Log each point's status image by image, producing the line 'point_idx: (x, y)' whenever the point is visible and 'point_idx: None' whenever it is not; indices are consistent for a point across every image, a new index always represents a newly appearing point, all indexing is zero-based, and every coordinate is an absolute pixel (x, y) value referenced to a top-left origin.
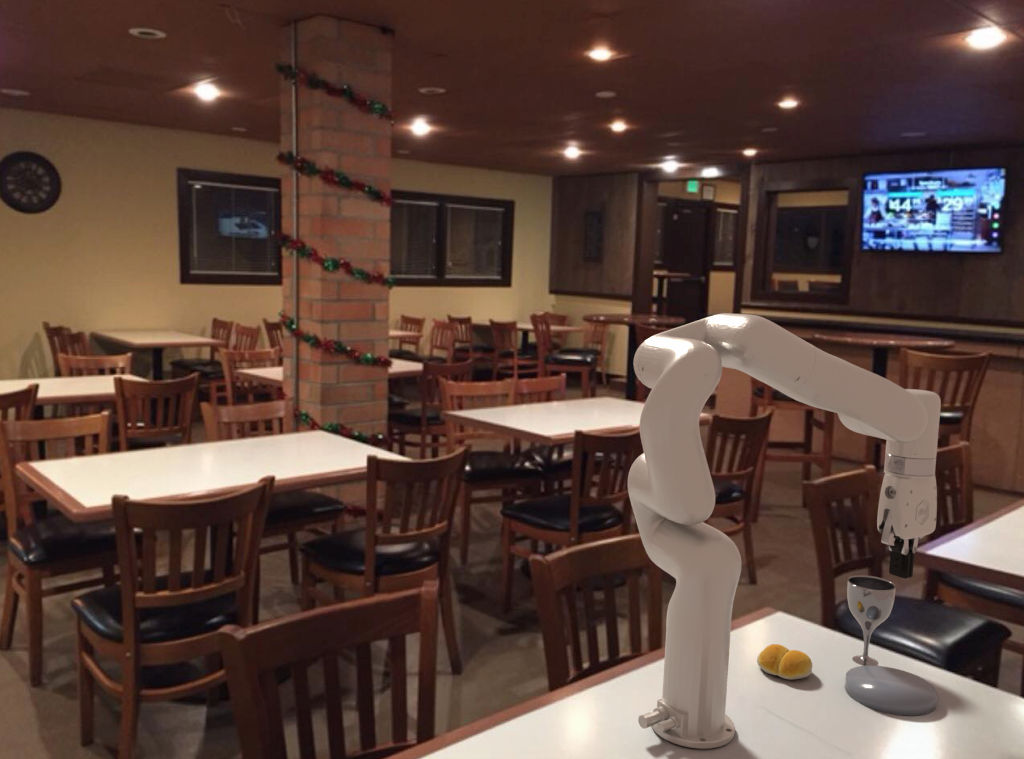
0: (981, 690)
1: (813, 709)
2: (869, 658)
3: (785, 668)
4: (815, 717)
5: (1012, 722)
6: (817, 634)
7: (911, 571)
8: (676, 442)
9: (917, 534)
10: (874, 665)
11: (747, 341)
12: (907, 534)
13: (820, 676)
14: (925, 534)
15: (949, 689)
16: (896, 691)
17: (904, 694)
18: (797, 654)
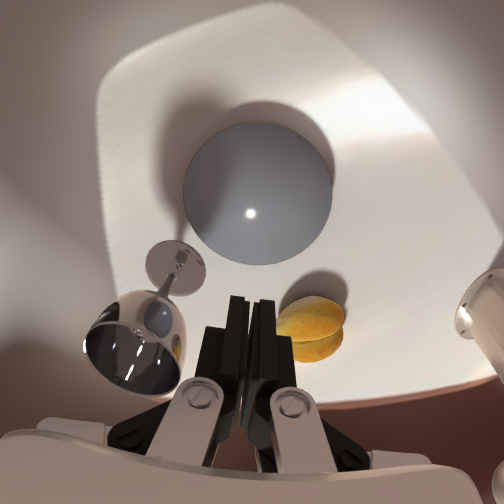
0: (112, 112)
1: (391, 245)
2: (171, 268)
3: (342, 319)
4: (410, 232)
5: (187, 31)
6: None
7: (240, 311)
8: None
9: (303, 497)
10: (178, 254)
11: None
12: (445, 492)
13: (280, 288)
14: (161, 467)
15: (150, 142)
16: (279, 178)
17: (280, 164)
18: (318, 328)
